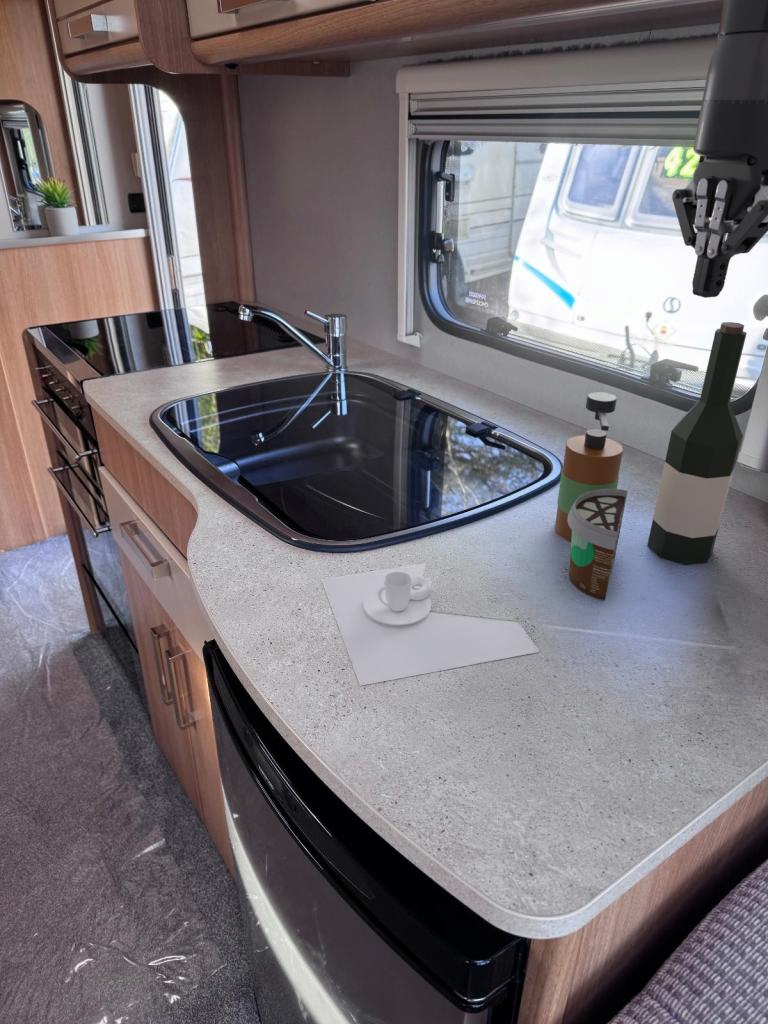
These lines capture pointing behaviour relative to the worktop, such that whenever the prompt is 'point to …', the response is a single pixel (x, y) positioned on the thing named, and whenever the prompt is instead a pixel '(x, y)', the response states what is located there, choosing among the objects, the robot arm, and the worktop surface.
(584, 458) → the pump bottle
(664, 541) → the wine bottle
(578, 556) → the food container
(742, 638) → the worktop surface
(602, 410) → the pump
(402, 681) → the worktop surface
